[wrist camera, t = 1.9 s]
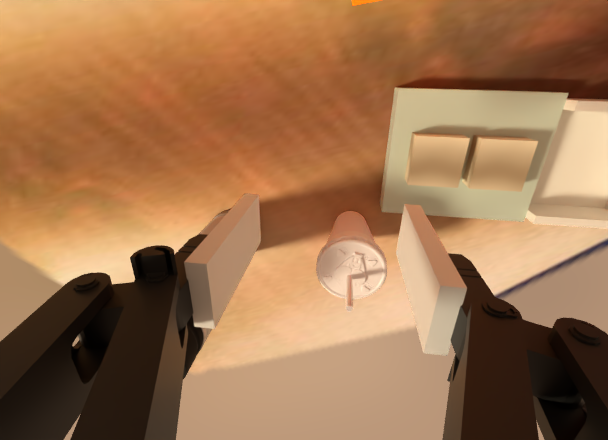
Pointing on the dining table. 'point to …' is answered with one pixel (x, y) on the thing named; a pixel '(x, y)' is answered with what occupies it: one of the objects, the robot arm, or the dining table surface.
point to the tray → (575, 169)
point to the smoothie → (351, 260)
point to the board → (468, 121)
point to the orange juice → (362, 1)
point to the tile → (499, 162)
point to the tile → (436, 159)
